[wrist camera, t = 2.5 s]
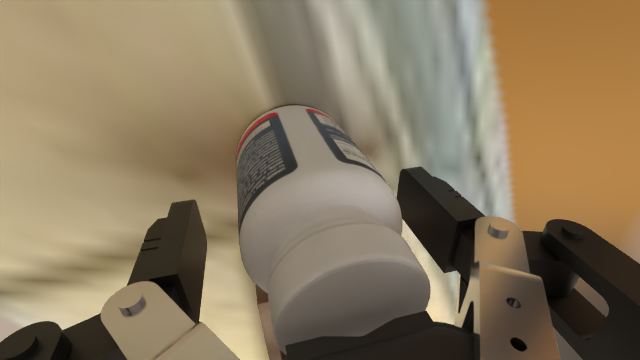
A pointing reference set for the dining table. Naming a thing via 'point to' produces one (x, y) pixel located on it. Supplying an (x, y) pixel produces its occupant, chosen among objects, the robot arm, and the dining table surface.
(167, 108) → the dining table surface
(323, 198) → the pill bottle
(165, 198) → the dining table surface
